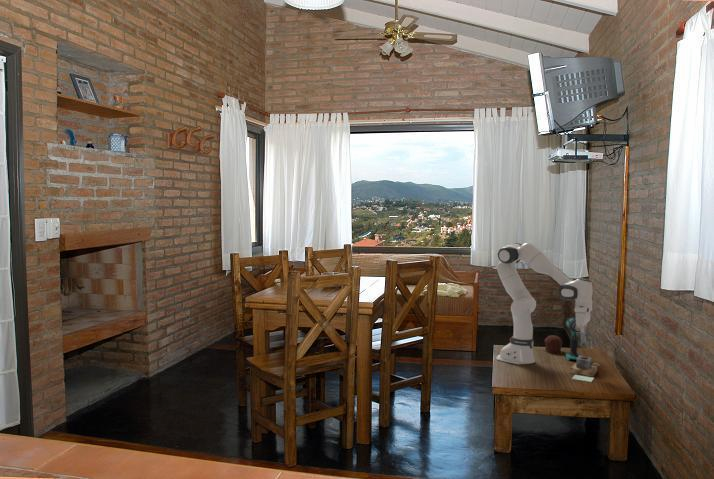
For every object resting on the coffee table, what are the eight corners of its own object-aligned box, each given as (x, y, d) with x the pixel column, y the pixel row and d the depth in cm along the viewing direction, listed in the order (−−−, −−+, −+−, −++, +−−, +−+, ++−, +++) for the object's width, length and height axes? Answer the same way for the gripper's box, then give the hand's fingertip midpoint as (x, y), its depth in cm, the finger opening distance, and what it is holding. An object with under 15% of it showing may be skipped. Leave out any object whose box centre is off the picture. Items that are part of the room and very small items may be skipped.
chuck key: (575, 345, 319) (576, 326, 318) (576, 344, 321) (577, 326, 320) (590, 346, 315) (590, 328, 314) (591, 345, 317) (591, 327, 316)
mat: (571, 379, 307) (571, 378, 307) (574, 375, 314) (574, 374, 314) (591, 382, 302) (591, 381, 302) (594, 378, 308) (594, 377, 308)
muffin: (563, 353, 359) (563, 338, 358) (545, 352, 361) (545, 337, 360) (561, 349, 370) (561, 334, 369) (543, 348, 373) (543, 333, 372)
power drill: (586, 366, 332) (587, 324, 330) (570, 365, 333) (571, 323, 332) (578, 354, 357) (579, 315, 355) (563, 353, 359) (564, 314, 357)
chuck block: (570, 373, 318) (570, 359, 317) (575, 367, 328) (575, 354, 327) (597, 377, 310) (597, 363, 310) (600, 371, 320) (601, 358, 320)
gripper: (581, 303, 327) (581, 327, 328) (573, 309, 310) (573, 334, 311) (593, 304, 323) (593, 328, 324) (585, 310, 306) (585, 335, 307)
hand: (583, 331), depth 317 cm, fingers closed on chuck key, 3 cm apart
